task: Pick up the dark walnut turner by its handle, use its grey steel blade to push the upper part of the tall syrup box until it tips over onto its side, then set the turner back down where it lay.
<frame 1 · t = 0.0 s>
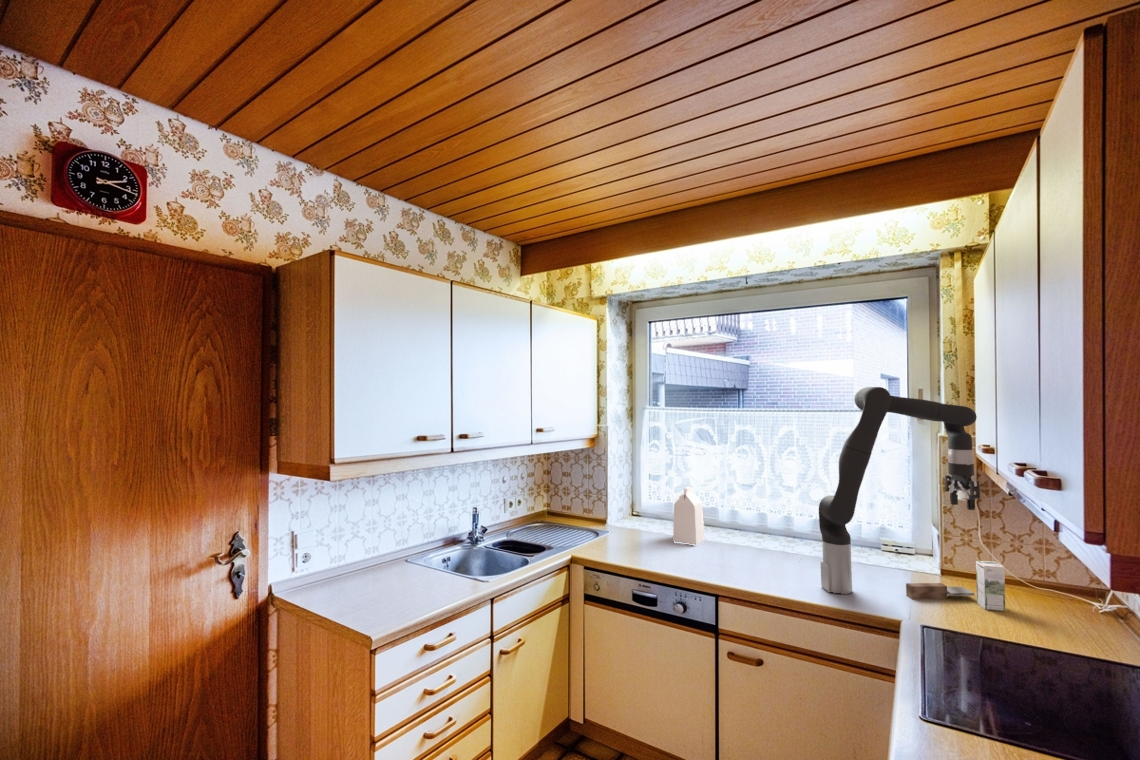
hand: (962, 507, 190), 29 cm above the worktop, tool pointing down, fingers open, 8 cm apart
syrup box: (991, 608, 173), on the worktop
milk: (689, 542, 256), on the worktop
turner: (926, 597, 183), on the worktop
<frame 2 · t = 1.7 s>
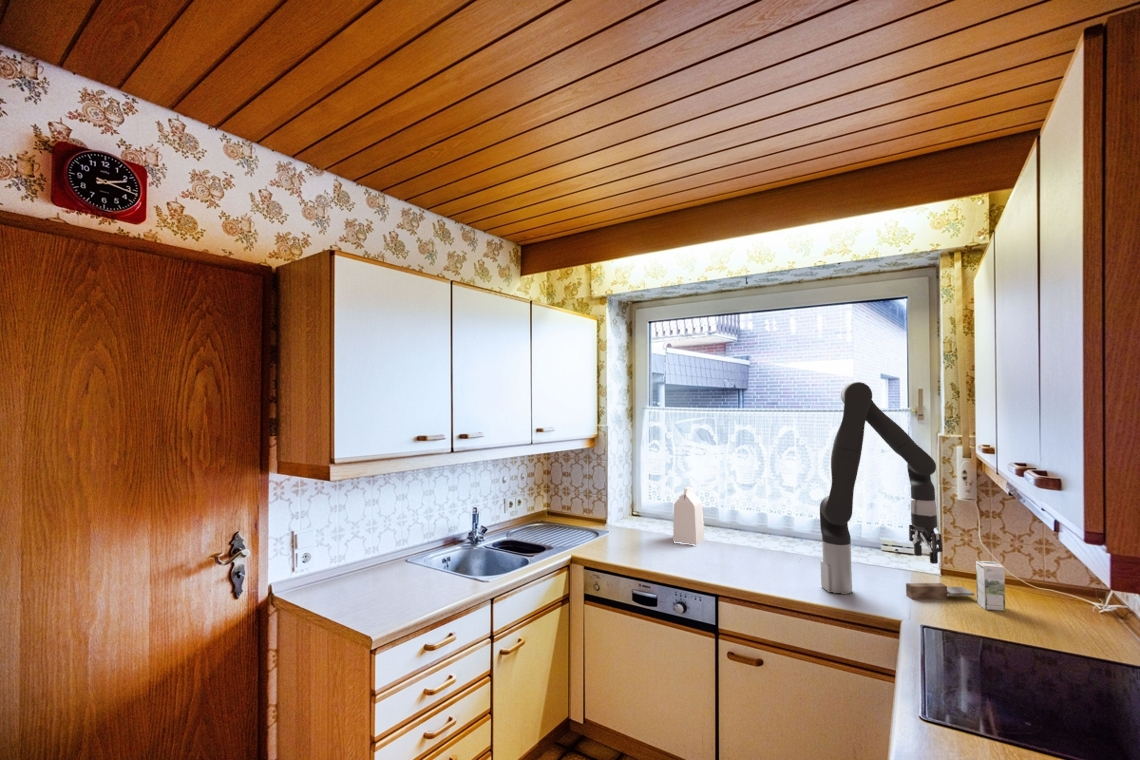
hand: (925, 559, 183), 13 cm above the worktop, tool pointing down, fingers open, 8 cm apart
nothing on the worktop moved.
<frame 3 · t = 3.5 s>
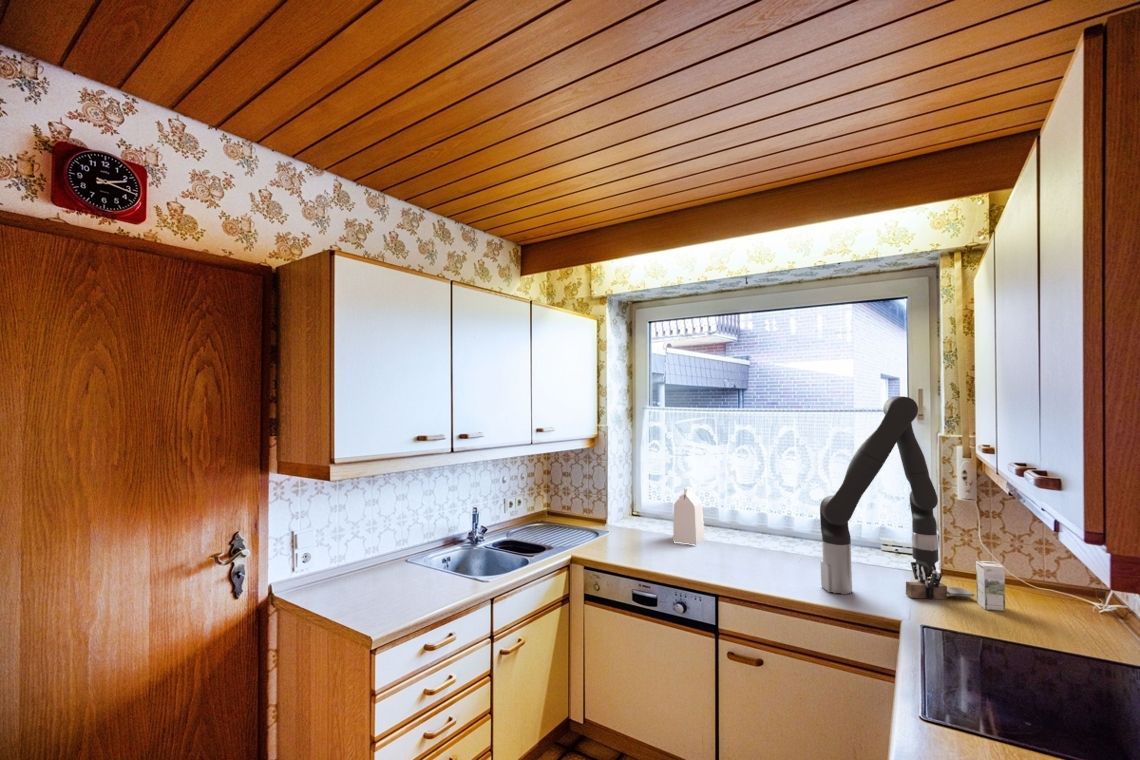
hand: (926, 596, 183), 0 cm above the worktop, tool pointing down, fingers closed on turner, 3 cm apart
turner: (926, 596, 183), on the worktop, touching gripper
everything else where it was.
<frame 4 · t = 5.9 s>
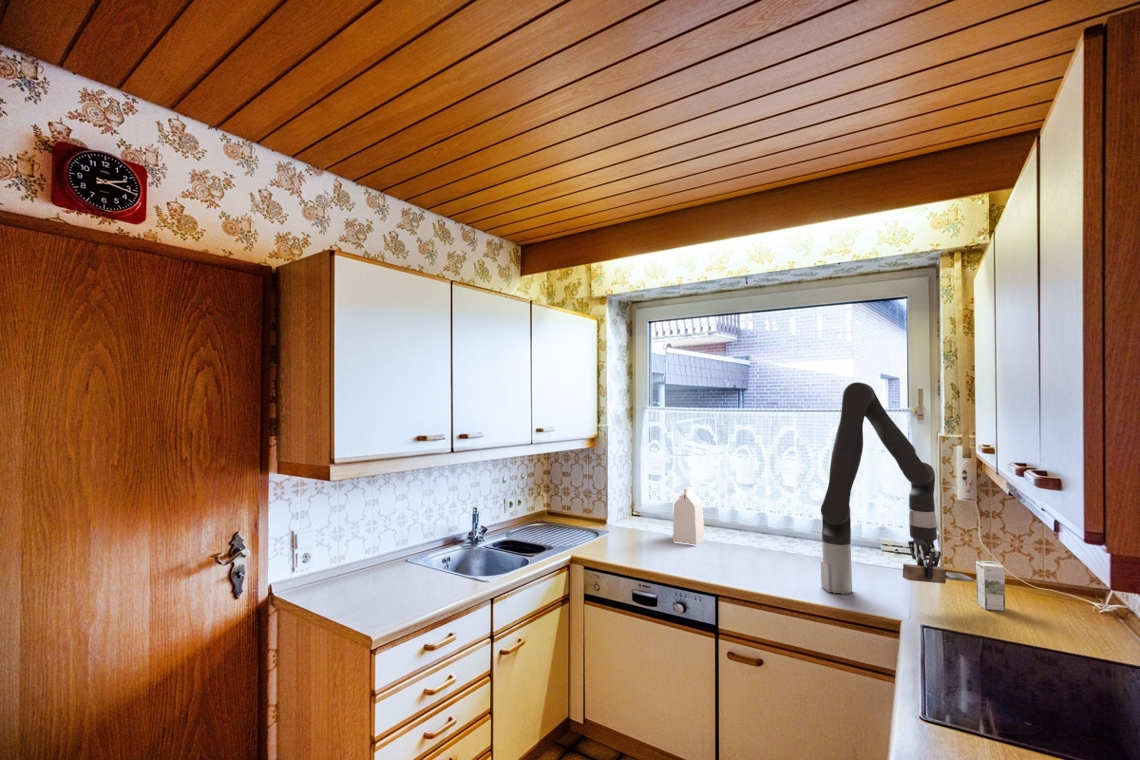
hand: (925, 576, 174), 10 cm above the worktop, tool pointing down, fingers closed on turner, 3 cm apart
turner: (923, 580, 174), point 9 cm above the worktop, tilted 5°, touching gripper
everything else where it was.
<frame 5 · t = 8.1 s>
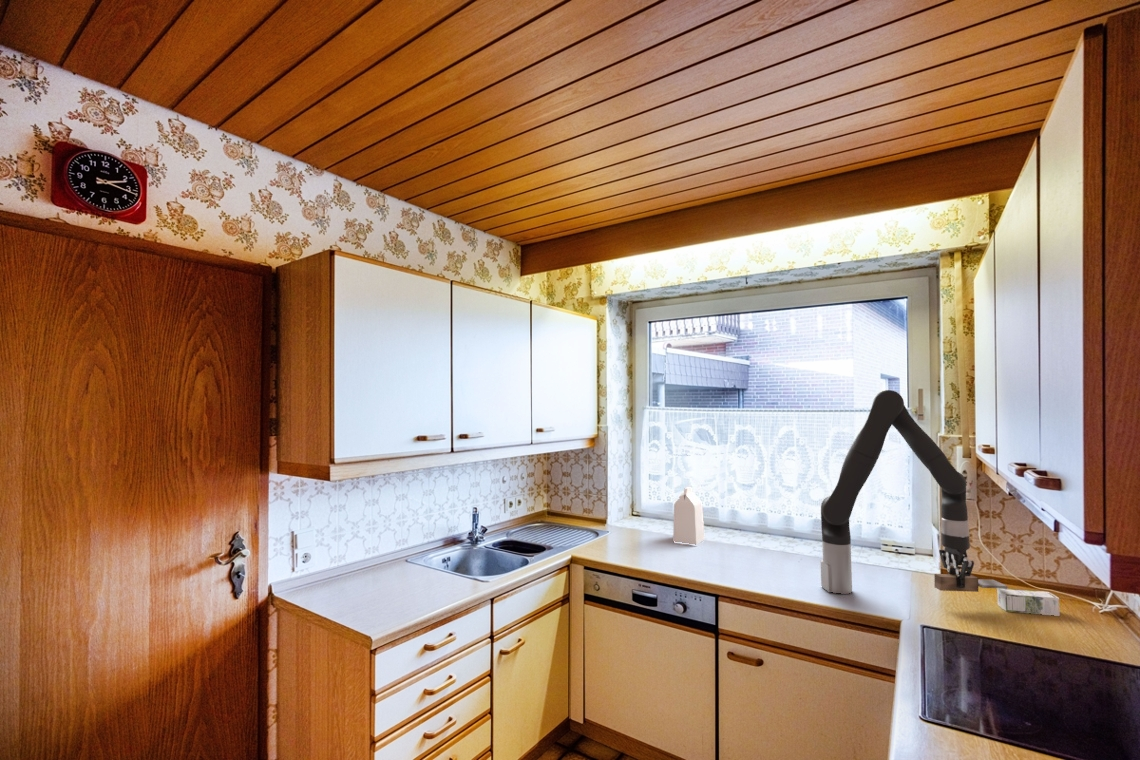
hand: (957, 585, 174), 7 cm above the worktop, tool pointing down, fingers closed on turner, 3 cm apart
syrup box: (1000, 599, 173), point 3 cm above the worktop
turner: (956, 589, 174), point 6 cm above the worktop, touching gripper
everything else where it was.
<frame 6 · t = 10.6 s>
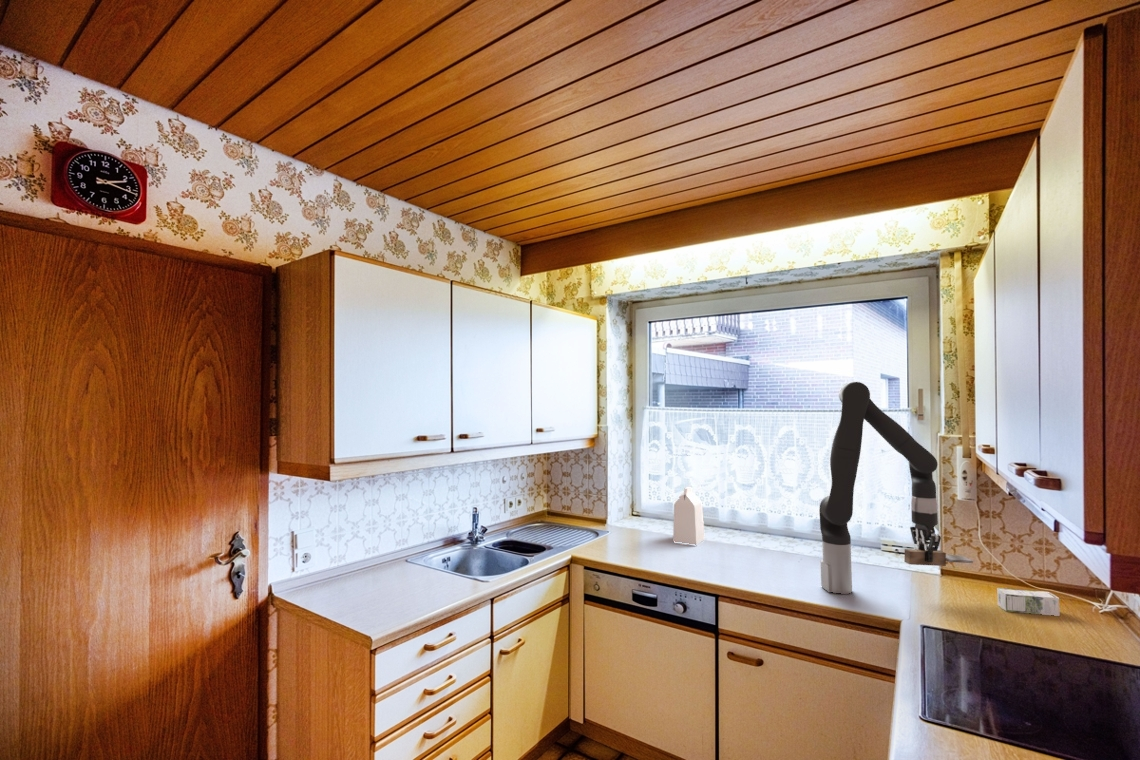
hand: (925, 560, 183), 13 cm above the worktop, tool pointing down, fingers closed on turner, 3 cm apart
turner: (924, 563, 183), point 12 cm above the worktop, touching gripper
everything else where it was.
when the fingers open (2 cm above the worktop, at t = 13.1 s): turner stays where it is, on the worktop.
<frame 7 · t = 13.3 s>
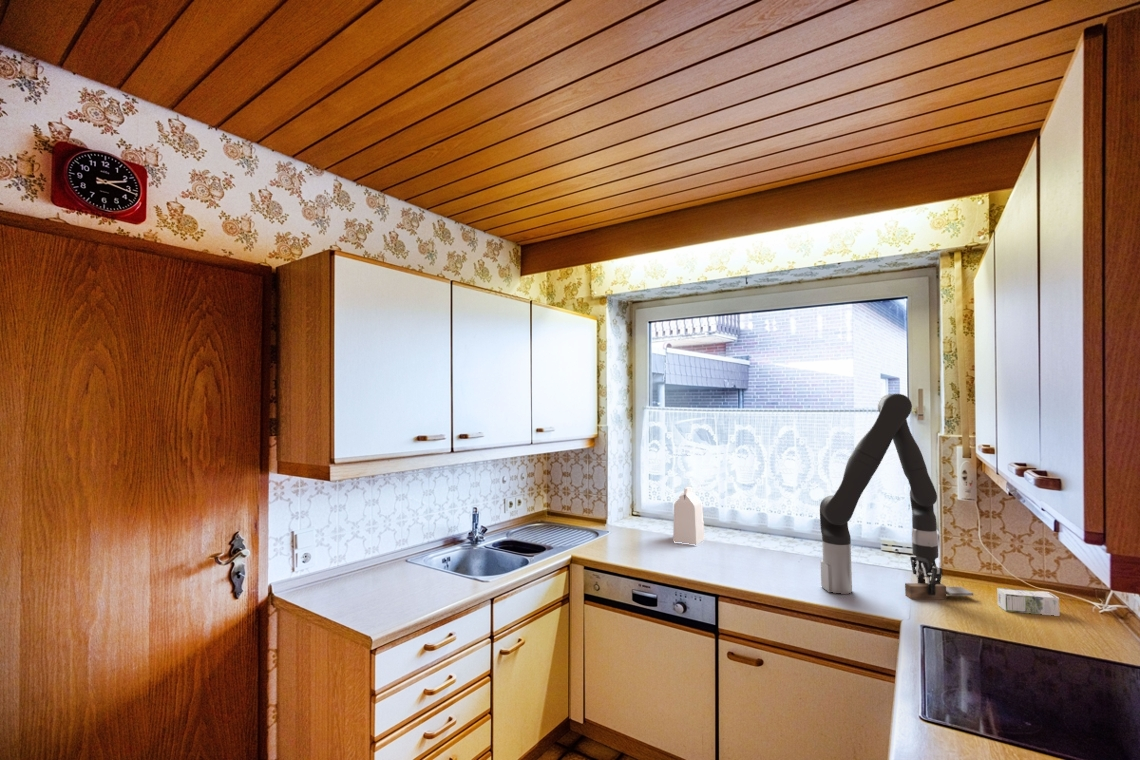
hand: (926, 591, 183), 2 cm above the worktop, tool pointing down, fingers open, 4 cm apart
turner: (925, 597, 183), on the worktop
everything else where it was.
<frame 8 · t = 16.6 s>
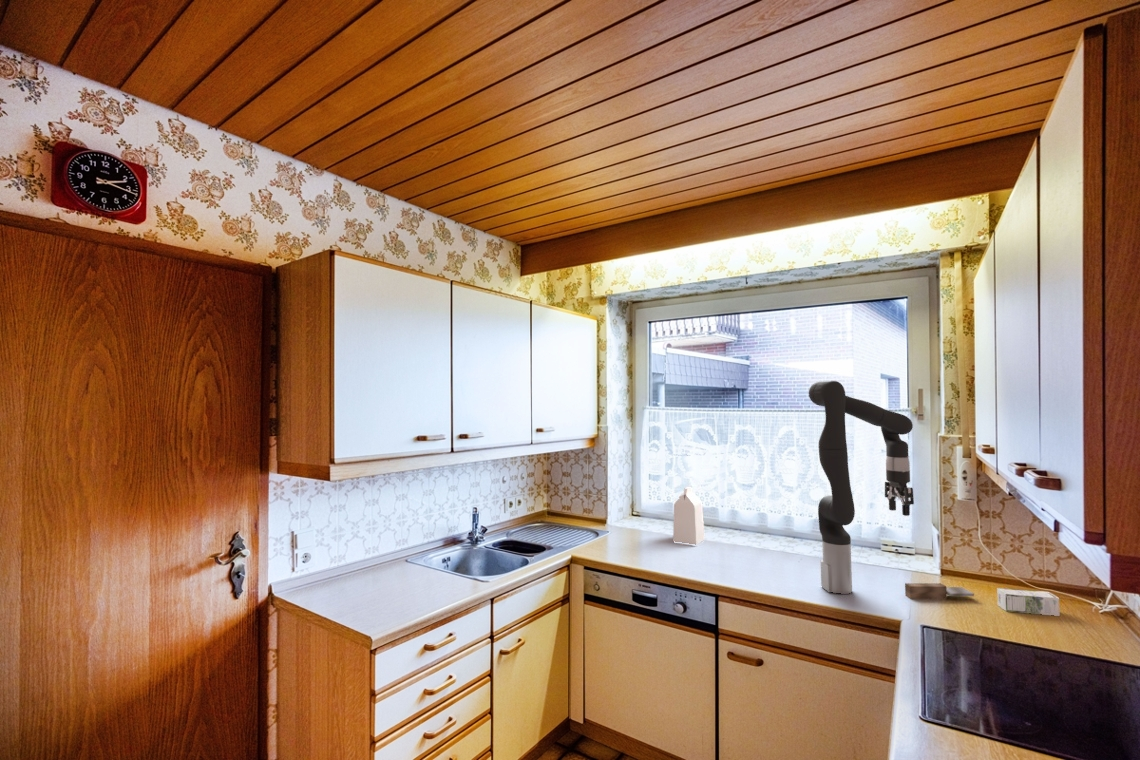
hand: (899, 512, 197), 26 cm above the worktop, tool pointing down, fingers open, 8 cm apart
nothing on the worktop moved.
at the end: syrup box tilted 90°; the gripper is holding nothing; turner inside the target area (0.4 cm from its centre), on the worktop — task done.
